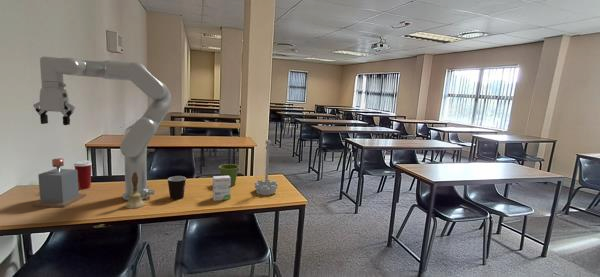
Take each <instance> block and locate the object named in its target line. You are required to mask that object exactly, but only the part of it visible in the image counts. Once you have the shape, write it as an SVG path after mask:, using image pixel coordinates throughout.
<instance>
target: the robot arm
mask: <svg viewBox="0 0 600 277" xmlns="http://www.w3.org/2000/svg"><path fill="white" fill-rule="evenodd" d="M39 64H40V65H39V68H40V80H41V88H40V91H39V101H38V102H36V103H33V107H34V109H35V111H36V112H37V114H38V115H39V119H40V124H41V125H45V124H48V123H49V118H48V117H49V116H48V114H47V113H48V112H52V113H53V112H56V113H57V112H58V113H61V114H62V115H63V116H62V125H63V126H70V125H71V119H70V117H71V116H72V114H73V113H74V111H75V109H76V106H74V105H72V104H71V103H70V101H69V95H68V91H67V89H65V88H66V87H67V84H66V83H64V82H65V81H64V75H67V76H75V77H76V76H77V77H92V78H102V79H106V80H115V81H117V80H118V81H119V80H120V81H130V82H131V83H132V84H134V86H136V87H137V88H138V89H139V90H140V91H141V92H142V93H144V94H145V95H146V96H147V97H149V98H150V99H152V101H151V103H150V104H149V106H148V107H147V109H146V110H145V112H144V114H143V115H142V116H141V117H140V118H139V119H137V120H136V121H135V123H134V124H132V125H133V126H132V127H130V130H129V131H128V132H127V134H126V135H125V137H124V138H123V140H122V142H121V143H120V145H119V146H120V147H119V150H120V152H121V154H122V156H124V184H125V192H124V193H122V195H121V198H122V200H124V201H129V197H130V194H132V193H133V183H132V176H133V173H134V172H137V175H138V183H137V193H140V195H141V199H142V200H144V199H145V200H146V199H147V198H149V197H150V196H151V195H153V196H154V195H155V189H150V186H149V185H148V180H147V178H148V175H147V172H148V171H147V155H148V154H147V151H148V145H149V143H150V142H151V140H152V138H153V137H154V135H155V134H156V133H157V131H158V129H159V126H160V125H161V123H162V122H163V120H164V118H166V115H168V112H169V111H170V108H171V106H172V95H171V92H170V90H169V88H168V87H167V85H166V84H165V83H164V82H162V81H160V80H158V79H157V78H156V77H155V76H154V75H152V73H151V72H149V71H148V69H147V67H146V66H145V65H144V64H142V63H140V62H137V61H131V62H129V61H119V60H118V61H117V60H111V59H110V60H109V59H108V60H103V61H101V60H100V61H99V60H98V61H96V60H86V59H77V58H74V57H73V58H72V57H54V56H41V57H40V58H39Z"/></svg>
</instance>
